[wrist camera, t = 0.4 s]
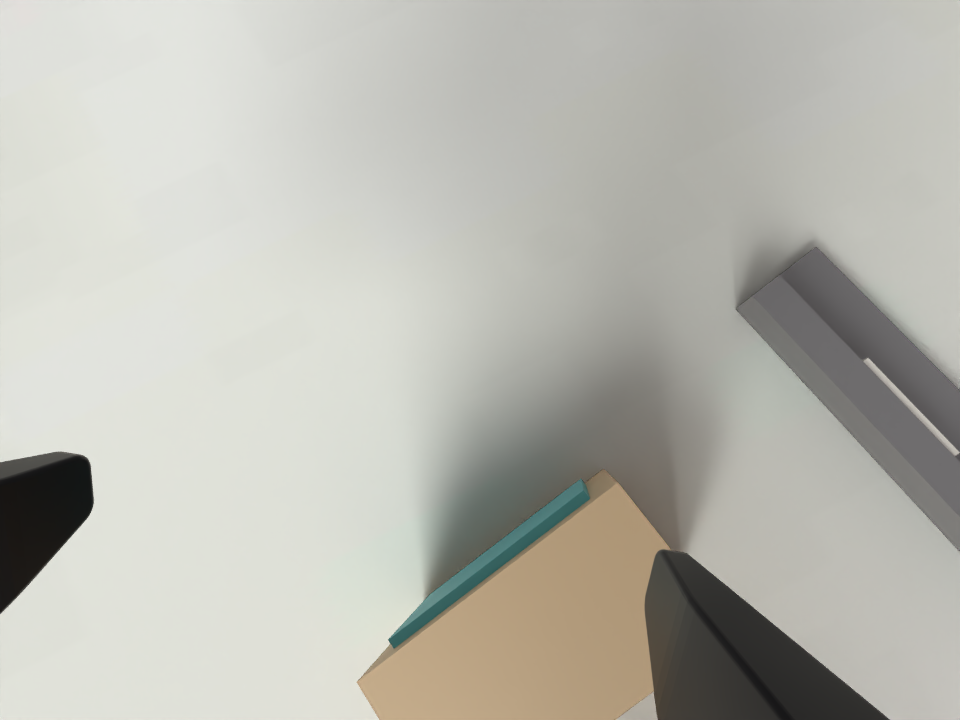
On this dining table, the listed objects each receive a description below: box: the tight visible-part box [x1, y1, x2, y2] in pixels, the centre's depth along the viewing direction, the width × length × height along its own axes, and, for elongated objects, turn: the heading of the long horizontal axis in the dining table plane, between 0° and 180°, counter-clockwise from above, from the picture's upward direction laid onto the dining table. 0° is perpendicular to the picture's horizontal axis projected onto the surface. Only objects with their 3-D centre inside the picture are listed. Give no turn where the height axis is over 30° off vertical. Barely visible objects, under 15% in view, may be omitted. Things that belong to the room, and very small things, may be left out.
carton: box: [357, 469, 671, 720], centre depth 18 cm, size 5×9×7 cm, turn 127°
